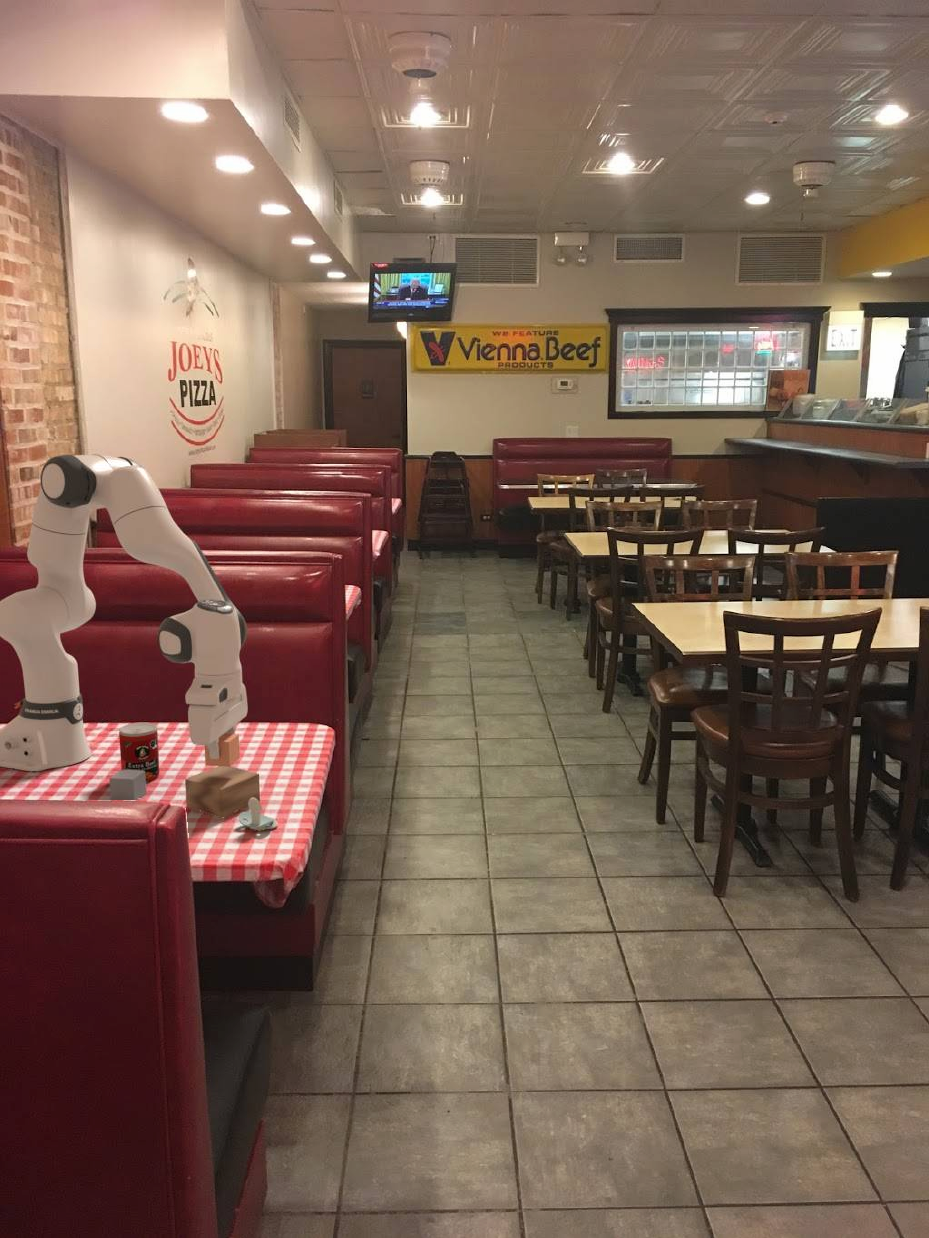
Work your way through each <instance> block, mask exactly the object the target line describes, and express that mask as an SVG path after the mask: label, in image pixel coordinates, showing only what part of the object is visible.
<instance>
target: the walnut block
mask: <svg viewBox="0 0 929 1238" xmlns="http://www.w3.org/2000/svg"><path fill="white" fill-rule="evenodd" d="M184 781H185V782H184V783H185V800H186V801H185V802H186V808H189V809H192V810H195V809H196V811H198V810H201V811H204V812H203V813H205V812H207V813H206V814H208V813H210V814H209V815H211V814H213V815H212V816H214V815H216V816H215V817H217V816H219V817H218V818H221V817H222V818H221V819H224V818H227V817H229V816H231V815H233V814H235V813H236V812H235V811H237V810H240V811H242V810H244V809H246V808H245V807H247V808H249V807H248V801H249V799H250V798H252V797H254V798H256V799H257V800H258V801H260V802H261V796H260V794H261V793H260V791H261V788H260V774H259V773H257V772H253V771H250V770H246V769H242V768H238V767H236V766H235V767H234V766H232V765H231V766H230V767H224V766H214V767H212V768H210V769H208V770H204V771H203V772H200V773H197V774H195V775H191V776H190V777H187V778H185V779H184ZM243 808H244V809H243ZM241 809H242V810H241ZM201 811H200V812H201ZM234 812H235V813H234ZM232 813H233V814H232ZM230 814H231V815H230ZM228 815H229V816H228ZM226 816H227V817H226ZM223 817H224V818H223Z"/></svg>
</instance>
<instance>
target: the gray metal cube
mask: <svg viewBox="0 0 929 1238" xmlns="http://www.w3.org/2000/svg"><path fill="white" fill-rule="evenodd" d="M109 789H110V801H111V800H138V801H139V800H140V799H141V798H143V797H145V796H146V795H147V782H146V777H145V771H141V770H125V769H120V770H119V771H118V772H116V773H114V774H113V775H112V776H110V777H109ZM138 798H140V799H138Z"/></svg>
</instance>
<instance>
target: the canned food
mask: <svg viewBox="0 0 929 1238" xmlns="http://www.w3.org/2000/svg"><path fill="white" fill-rule="evenodd" d="M118 731H119V737H118V739H119V740H118V741H119V752H120V753H119V754H120V767H121V769H120V770H122V769H125V770H141V771H145V777H146V783H149V782H151V781H155V780H156V779H157V778H158V777H159V776H160V759H159V758H160V755H159V734H158V727H157V725H156V723H151V722H145V721H144V722H134V723H129V724H125V725H123V726H121V727H120V728H119V730H118Z"/></svg>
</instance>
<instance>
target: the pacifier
mask: <svg viewBox="0 0 929 1238" xmlns="http://www.w3.org/2000/svg"><path fill="white" fill-rule="evenodd" d="M247 808H248V809H249V811H243V812H240V813H239V814H238V821H239V823H240V824H241V825H242V826H245V827H248V828H249V830H252V829H253V830H252V831H256V830H263V831H265V830H273V829H275V828H277V827H278V826H279V823H278V821H277V820H275V819H274V818H272V817H269V816H266V815H263V814H261V813H262V811H263V807H262V804H261V801H260V802H259V801H258V800H257V799H256V798H254V797H252V798H250V799H249V801H248V807H247ZM254 829H255V830H254Z"/></svg>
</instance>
